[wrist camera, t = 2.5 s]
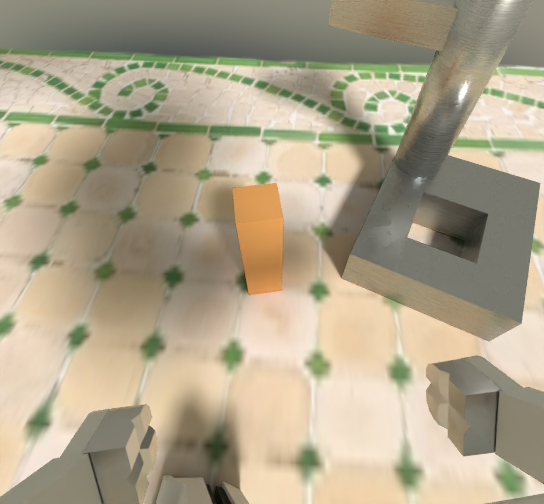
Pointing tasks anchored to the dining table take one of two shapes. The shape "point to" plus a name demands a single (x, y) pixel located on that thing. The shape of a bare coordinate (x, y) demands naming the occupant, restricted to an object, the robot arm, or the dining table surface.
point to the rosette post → (446, 173)
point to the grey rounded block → (197, 492)
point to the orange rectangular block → (260, 236)
